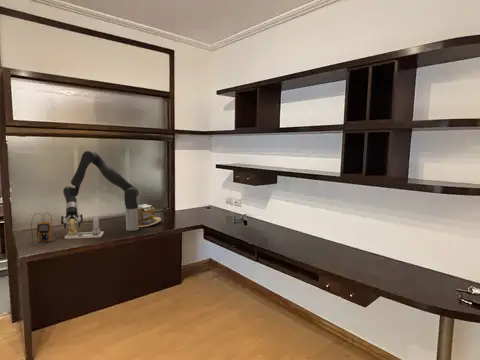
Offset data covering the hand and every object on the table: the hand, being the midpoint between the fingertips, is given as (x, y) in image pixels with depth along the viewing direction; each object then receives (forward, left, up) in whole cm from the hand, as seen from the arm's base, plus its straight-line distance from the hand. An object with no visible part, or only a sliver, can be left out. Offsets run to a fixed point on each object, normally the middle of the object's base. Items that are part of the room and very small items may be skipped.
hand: (72, 227), depth 234 cm
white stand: (-8, -1, -7) cm, 10 cm away
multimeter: (+15, +11, -7) cm, 20 cm away
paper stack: (-49, -30, -7) cm, 58 cm away
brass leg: (0, 0, -5) cm, 5 cm away
